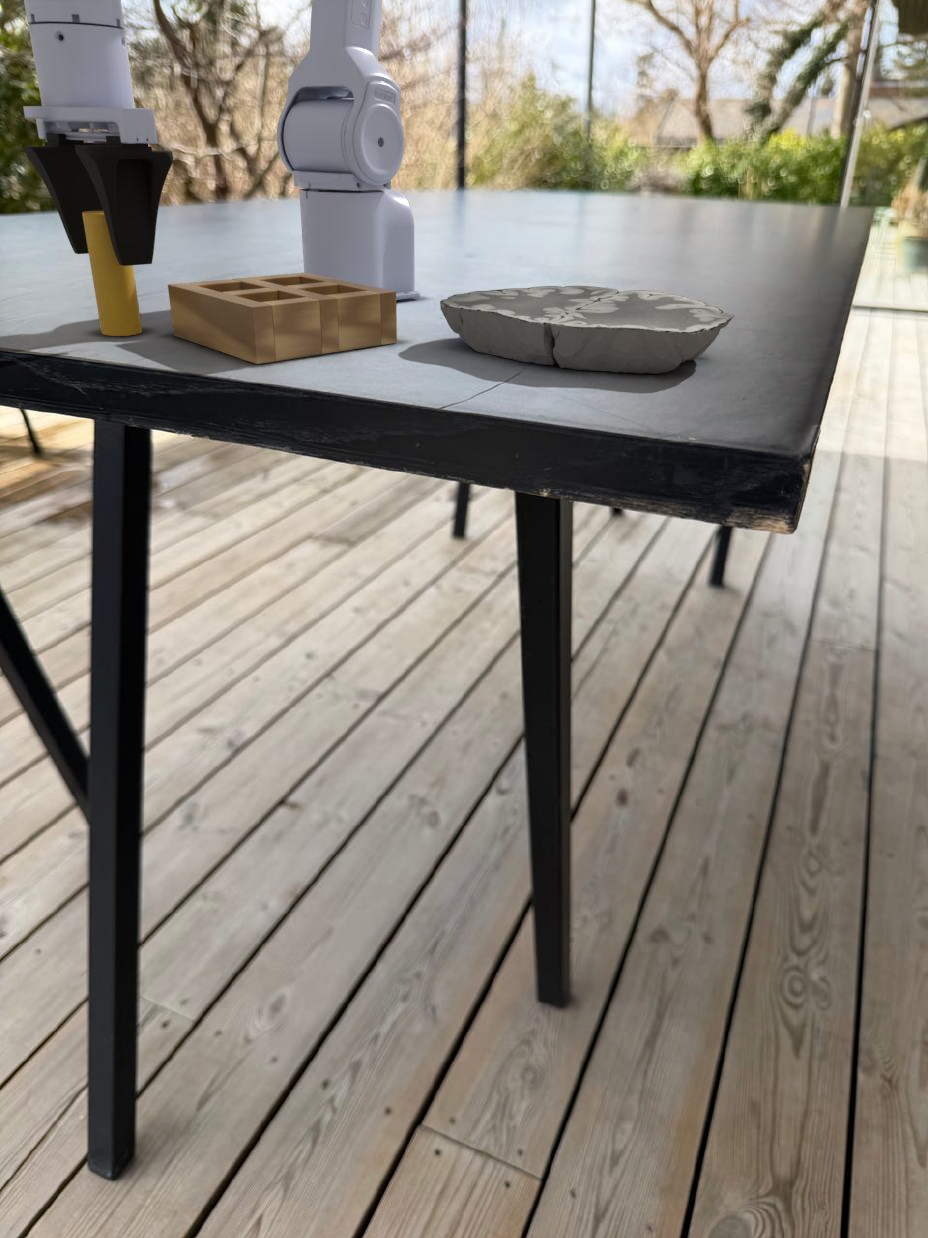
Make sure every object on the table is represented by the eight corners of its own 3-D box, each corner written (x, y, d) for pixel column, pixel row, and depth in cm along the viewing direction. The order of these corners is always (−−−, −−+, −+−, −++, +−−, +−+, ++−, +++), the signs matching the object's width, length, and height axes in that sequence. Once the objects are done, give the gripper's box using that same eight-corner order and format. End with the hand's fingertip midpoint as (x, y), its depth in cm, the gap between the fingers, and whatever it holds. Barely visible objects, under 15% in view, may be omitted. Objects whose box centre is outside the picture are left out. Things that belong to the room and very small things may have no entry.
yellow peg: (132, 327, 68) (115, 209, 64) (148, 333, 66) (132, 212, 62) (95, 331, 66) (75, 211, 62) (111, 337, 64) (91, 214, 61)
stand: (307, 319, 72) (304, 272, 71) (397, 342, 65) (396, 291, 63) (173, 335, 65) (167, 284, 64) (257, 364, 58) (252, 307, 56)
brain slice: (749, 341, 68) (756, 299, 66) (695, 390, 54) (702, 339, 53) (507, 316, 75) (509, 278, 74) (407, 353, 62) (406, 307, 60)
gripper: (-28, 29, 60) (16, 251, 66) (57, 14, 50) (98, 274, 57) (79, 37, 64) (110, 245, 70) (176, 25, 55) (202, 266, 61)
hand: (112, 258), depth 64 cm, fingers open, 7 cm apart
